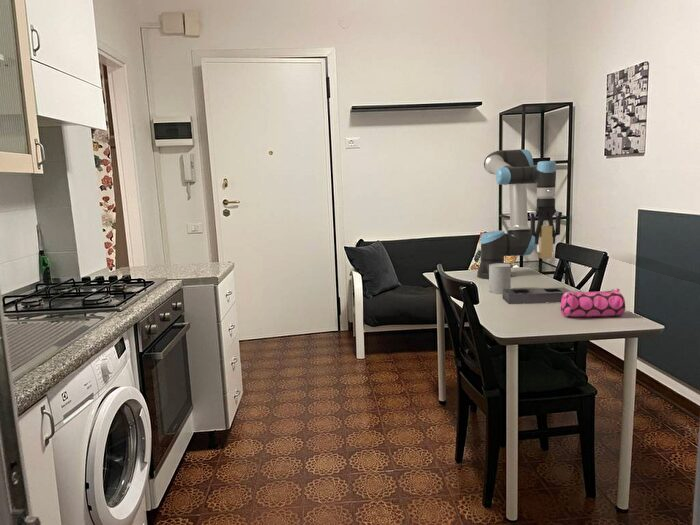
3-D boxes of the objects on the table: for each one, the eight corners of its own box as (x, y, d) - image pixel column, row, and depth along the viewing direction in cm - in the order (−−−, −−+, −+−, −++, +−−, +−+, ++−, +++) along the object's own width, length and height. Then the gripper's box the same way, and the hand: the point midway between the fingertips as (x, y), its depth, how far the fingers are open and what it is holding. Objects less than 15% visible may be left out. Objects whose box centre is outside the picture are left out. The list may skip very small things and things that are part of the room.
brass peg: (537, 257, 235) (538, 225, 232) (548, 256, 235) (548, 225, 232) (541, 258, 230) (541, 226, 228) (551, 258, 230) (552, 226, 228)
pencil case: (612, 311, 203) (614, 285, 201) (626, 318, 193) (628, 291, 192) (557, 313, 202) (557, 288, 201) (568, 320, 193) (569, 293, 191)
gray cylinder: (488, 294, 238) (489, 266, 236) (488, 289, 247) (488, 263, 245) (511, 294, 236) (511, 266, 234) (510, 289, 245) (510, 263, 243)
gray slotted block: (502, 298, 229) (502, 289, 228) (563, 296, 228) (564, 287, 227) (508, 304, 219) (508, 294, 218) (572, 302, 218) (573, 292, 218)
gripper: (527, 198, 225) (527, 253, 228) (570, 197, 224) (568, 252, 228) (522, 198, 232) (521, 251, 236) (563, 196, 232) (562, 249, 235)
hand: (544, 251), depth 232 cm, fingers closed on brass peg, 4 cm apart
